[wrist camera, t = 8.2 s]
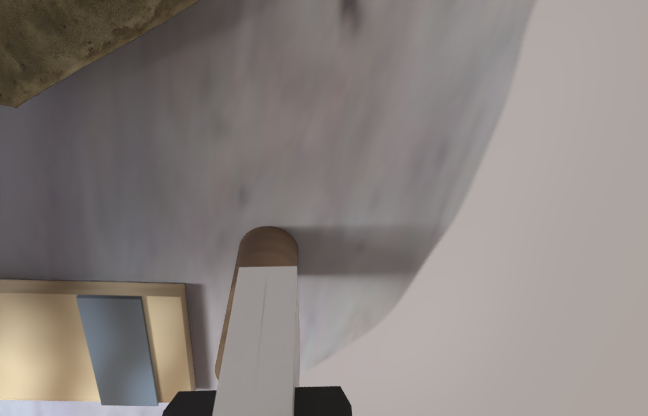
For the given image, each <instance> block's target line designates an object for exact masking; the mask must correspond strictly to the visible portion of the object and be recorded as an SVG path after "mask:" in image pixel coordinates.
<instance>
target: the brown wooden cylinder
mask: <svg viewBox="0 0 648 416" xmlns="http://www.w3.org/2000/svg"><path fill="white" fill-rule="evenodd" d="M280 266H297V274H298V246H297V243H296V241H295V240H294V238H293V237H292V236H291V235H290V234H289V233H287V232H286V231H284V230H282V229H279V228H276V227H259V228H256V229H253V230H251V231H250V232H248V233H247V234H246V235H245V236H244V237H243V238H242V240H241V242H240V246H239V251H238V256H237V261H236V266H235V271H234V276H233V281H232V286H231V291H230V295H229V300H228V305H227V310H226V315H225V320H224V325H223V330H222V335H221V340H220V345H219V350H218V355H217V360H216V365H215V374H216V377H217V379H218V381H219V375H220V370H221V364H222V359H223V353H224V348H225V342H226V337H227V331H228V326H229V320H230V315H231V309H232V304H233V298H234V293H235V287H236V281H237V276H238V270H239V267H280Z"/></svg>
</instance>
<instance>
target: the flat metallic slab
mask: <svg viewBox="0 0 648 416" xmlns="http://www.w3.org/2000/svg"><path fill="white" fill-rule="evenodd" d="M195 390H196V385H195V376H194V367H193V357H192V348H191V339H190V329H189V320H188V311H187V301H186V292H185V284H174V283H132V282H91V281H49V280H8V279H0V400H46V401H101V404H102V405H122V406H158V403H159V402H171V401H172V399H173V398H174V397H175V395H176V394H177V393H178V391H195Z"/></svg>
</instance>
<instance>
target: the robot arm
mask: <svg viewBox="0 0 648 416" xmlns="http://www.w3.org/2000/svg"><path fill="white" fill-rule="evenodd" d="M299 371H300V329H299V305H298V280H297V266H280V267H239V270H238V276H237V281H236V287H235V293H234V298H233V304H232V309H231V315H230V320H229V326H228V331H227V337H226V342H225V348H224V353H223V359H222V364H221V370H220V375H219V381H218V387H217V390H213V391H178V393H177V394H176V395H175V397H174V398H173V399H172V401H171V402H170V403H169V405H168V406H167V407H166V409H165V410H164V412H163V415H162V416H352V410H351V405H350V403H349V401H348V399H347V398H346V396H345V394H344V392H343V390H342V389H341V387H340V386H330V387H299Z"/></svg>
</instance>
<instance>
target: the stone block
mask: <svg viewBox="0 0 648 416" xmlns="http://www.w3.org/2000/svg"><path fill="white" fill-rule="evenodd" d="M198 1H199V0H0V105H5V106H12V107H16V108H17V107H18V106H20V105H21V104H23V103H24V102H26V101H27V100H29V99H30V98H32V97H34V96H36V95H38V94H40V93H41V92H42V91H44V90H46V89H47V88H49V87H50V86H52V85H54V84H56V83H57V82H59V81H61V80H63V79H64V78H66V77H68V76H69V75H71V74H72V73H74V72H76V71H78V70H79V69H81V68H83V67H84V66H86V65H88V64H90V63H92V62H94V61H96V60H98V59H100V58H101V57H103V56H105V55H107V54H109V53H110V52H112V51H114V50H116V49H118V48H119V47H121V46H123V45H125V44H127V43H129V42H131V41H132V40H134V39H136V38H138V37H139V36H141V35H143V34H144V33H146V32H148V31H150V30H151V29H153V28H155V27H156V26H158V25H160V24H161V23H163V22H165V21H166V20H168V19H169V18H171V17H173V16H174V15H176V14H178V13H179V12H181V11H183V10H184V9H186V8H188V7H189V6H191V5H193V4H194V3H196V2H198Z"/></svg>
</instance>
